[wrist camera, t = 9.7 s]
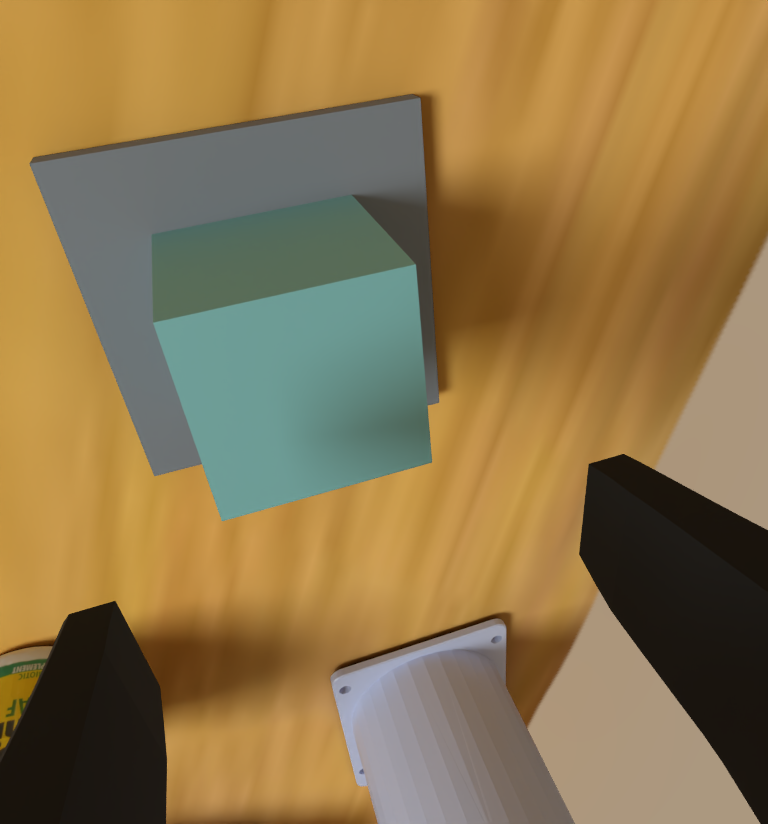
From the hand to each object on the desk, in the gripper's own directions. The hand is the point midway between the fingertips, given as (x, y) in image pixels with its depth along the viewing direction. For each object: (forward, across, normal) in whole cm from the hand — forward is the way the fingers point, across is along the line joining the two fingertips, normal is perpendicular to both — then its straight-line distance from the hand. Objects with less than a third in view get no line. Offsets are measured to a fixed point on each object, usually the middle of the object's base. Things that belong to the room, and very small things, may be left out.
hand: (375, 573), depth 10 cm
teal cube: (+10, 0, 0) cm, 10 cm away
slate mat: (+10, 0, 0) cm, 10 cm away
